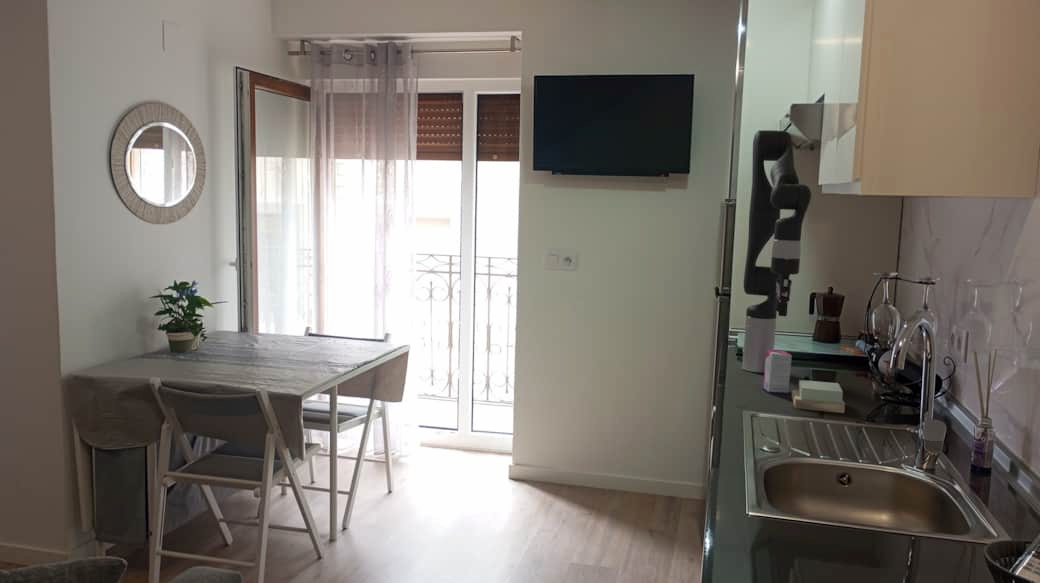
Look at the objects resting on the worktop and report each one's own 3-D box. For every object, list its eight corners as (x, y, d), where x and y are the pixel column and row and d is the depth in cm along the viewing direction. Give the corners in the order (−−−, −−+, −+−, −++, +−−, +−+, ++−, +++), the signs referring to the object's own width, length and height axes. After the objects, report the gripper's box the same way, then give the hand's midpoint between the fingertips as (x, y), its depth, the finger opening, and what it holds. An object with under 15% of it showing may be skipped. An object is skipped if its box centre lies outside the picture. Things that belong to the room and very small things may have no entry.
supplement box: (789, 394, 219) (792, 354, 217) (767, 393, 219) (771, 353, 217) (782, 389, 224) (785, 350, 223) (762, 388, 224) (764, 349, 223)
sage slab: (798, 390, 214) (799, 379, 214) (837, 394, 211) (838, 383, 211) (801, 399, 204) (801, 388, 204) (841, 403, 202) (842, 391, 201)
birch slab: (791, 399, 216) (792, 389, 215) (837, 404, 213) (838, 393, 212) (795, 410, 204) (795, 399, 204) (843, 415, 201) (844, 404, 201)
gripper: (770, 254, 225) (766, 309, 227) (773, 257, 211) (768, 316, 213) (797, 255, 223) (793, 311, 225) (802, 258, 209) (797, 318, 211)
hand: (781, 313), depth 219 cm, fingers open, 8 cm apart
